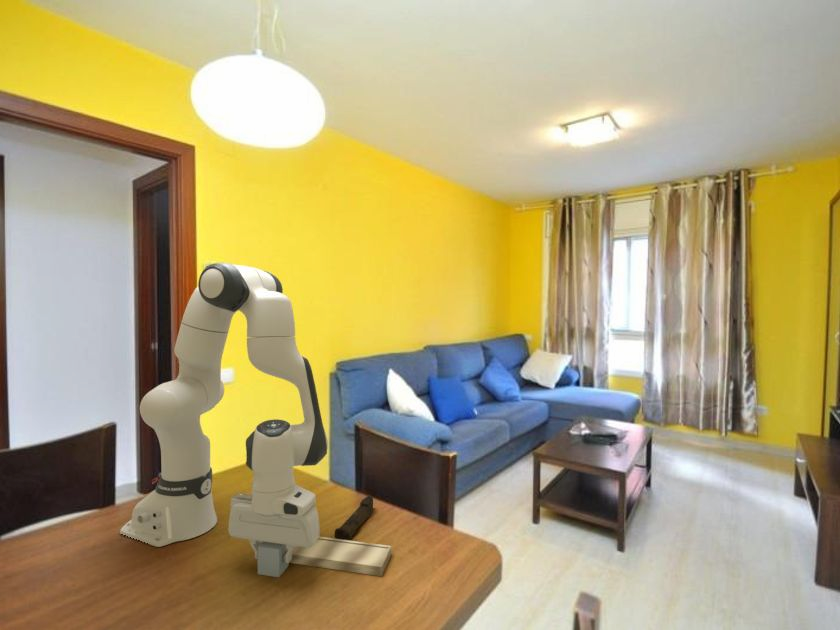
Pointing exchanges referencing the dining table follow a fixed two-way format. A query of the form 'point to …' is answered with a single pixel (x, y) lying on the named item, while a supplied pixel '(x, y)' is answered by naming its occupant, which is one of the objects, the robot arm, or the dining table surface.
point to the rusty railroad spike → (355, 519)
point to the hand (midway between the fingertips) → (273, 559)
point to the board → (344, 556)
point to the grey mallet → (271, 559)
